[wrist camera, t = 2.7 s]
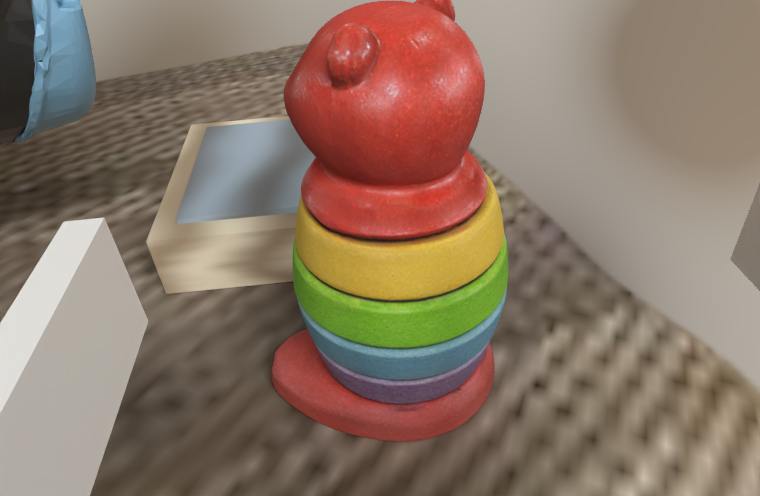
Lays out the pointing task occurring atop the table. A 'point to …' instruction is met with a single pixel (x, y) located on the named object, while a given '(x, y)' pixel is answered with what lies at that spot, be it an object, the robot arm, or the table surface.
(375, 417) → the stacking bear
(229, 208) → the plinth
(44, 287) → the robot arm
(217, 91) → the table surface
